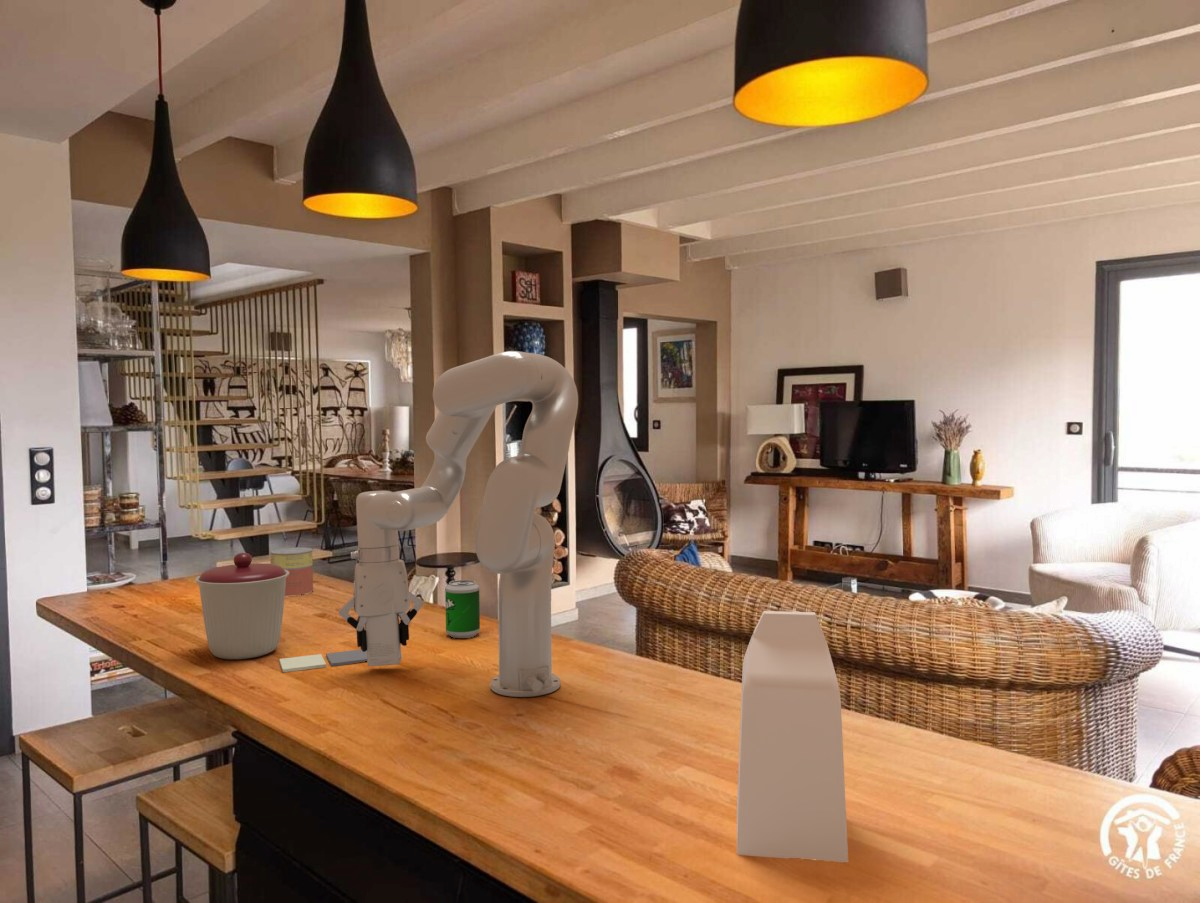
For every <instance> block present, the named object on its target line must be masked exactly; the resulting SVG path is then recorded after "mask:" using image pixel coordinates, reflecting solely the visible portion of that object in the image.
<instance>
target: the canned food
mask: <svg viewBox="0 0 1200 903" xmlns="http://www.w3.org/2000/svg"><path fill="white" fill-rule="evenodd" d="M313 551H314V550H313V548H311V547H304V546H303V547H298V546H297V547H293V546H292V547H282V548H275V549H272V550H270V551H269V553H270V564H273V565H277V566H280V567H282V568H283V569H285V570H287V571H289V576H288V577H286V586H285V596H290V595H300V594H306V593H310V592H312V591H313V590H314V570H313V568H314V567H313V564H314V563H313V560H314V559H313ZM313 592H314V591H313ZM313 592H312V593H313ZM310 594H311V593H310Z"/></svg>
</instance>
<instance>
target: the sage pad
mask: <svg viewBox="0 0 1200 903" xmlns="http://www.w3.org/2000/svg"><path fill="white" fill-rule="evenodd" d="M279 665H280V668H281V671H282V673H290V672H299V671H306V670H307V671H308V670H313V669H322V668H327V663H326V661H325V659H324V657H323V655H322V654H321V653H319V654H318V653H317V654H310V655H302V656H301V655H300V656H294V657H285V658H279Z"/></svg>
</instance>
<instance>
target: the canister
mask: <svg viewBox="0 0 1200 903" xmlns="http://www.w3.org/2000/svg"><path fill="white" fill-rule="evenodd" d="M252 562H253V557H252V555H251V553H248V552H240V553H236V554H235V556H234V557H233V563H234V564H229V565H221V566H217V567H213V568H209V569H207V570H205V571H204V572H202V573H201V574H200V575H198V576H196V577H195V578H194V581H195V583H196V584H198V587H199V588H198V589H199V596H200V601H201V602H200V603H201V609H202V610H201V611H202V617H203V622H204V628H205V629H204V630H205V636H206V641H207V645H208V648H209V650H210V652H211V654H212V655H213V656H215V657H217V658H220V659H223V660H247V659H248V660H249V659H253V658H254V659H255V658H258V657H262V656H265V655H268V654H270V653H272V652H274V650H276V648H277V647H278V645H279V643H280V639H281V635H282V634H281V632H282V625H283V617H284V616H283V615H284V605H285V598H286V597H285V586H286V577H288V576H289V571H287V570H285V569H283V568H282V567H280V566H277V565H273V564H271V563H255V562H254V563H252Z"/></svg>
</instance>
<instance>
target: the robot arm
mask: <svg viewBox="0 0 1200 903" xmlns="http://www.w3.org/2000/svg"><path fill="white" fill-rule="evenodd" d="M432 390H433V391H432V399H433V400H432V401H433V402H434V403H433V404H434V405H435V407H436V408H437V410H438V411H439V412H438V414H437V416H436V418H435V419H434V421H433V423H432V425H431V426H430V428H429V430H428V431H427V433H426V436H425V441H426V442H425V443H426V444H427V446H428V447H429V449H430V450H431V451H432V452H433V454H434V458H433V463H432V466H431V468H430V471H429V473H428V475H427V477H426V478H425V480H424V482H423V484H422V485H421V487H416V488H409V489H403V490H397V491H391V490H370V491H363V492H361V493H359V494H357V496H356V497H355V498H356V499H355V504H356V505H355V506H356V507H355V511H356V526H357V528H356V529H357V531H356V532H357V549H356V550H355V551H351V552H350V558H351V560H353V559H355V560H357V561H358V563H355V568H354V573H353V574H354V575H353V592H352V593H353V596H352V597H351V598H350V599H349V600H348V601H347V602H345V603H344V605H343V606H342V607H341V608H339V610H338V612H337V613H338V614H339V616H340V617H341V618H342V619H344V620H345V621H346V622H347V623H348V625H350V626H351V627H352V628H354V629H355V631H356V644H357V645H356V646H357V647H358V648H360V649H361V650H362V651H363V652H365V651H367V641H366V631H365V623H366V621H367V618H368V617H376V616H384V615H388V614H391V613H392V604H393V603H395V614H398V615H399V619H400V620H399V629H400V644H401V646H403V647H405V646H407V645H408V643H407V641H409V640H410V631H409V629H410V628H409V626H410V624H411V621H412V620H413V619H414V618H415V617H416V616H417V614H418V612H419V611H420V610H421V608H422V607H423V606H424V604H425V603H424V601H423V600H422V599H420V598H419V597H418V596H416V595H415V594H413V593H412V592H411V591H410V589H409V581H408V580H409V578H408V574H407V573H408V572H407V569H406V568H407V567H406V564H405V561H404V560H402V559H400V550H399V547H400V546H399V531H400V532H401V531H402V532H406V531H412V530H415V529H419V528H422V527H426V526H431V525H435V524H437V523H438V522H440V521H442V519H443V518H444V517H445V516H446V514H447V513H448V511H449V510H450V508H451V507H452V505H453V504H454V502H455V500H456V498H457V497H458V495H459V493H460V492H461V489H462V487H463V485H464V481H465V476H466V470H467V458H468V456H469V454H470V453H471V451H472V449H473V447H475V444H476V443H477V440H478V439H479V437H480V436H481V433H482V432H483V430H484V428H486V425H487V424H488V422H489V420H490V418H491V417H492V415H493V414H494V411H495V410H496V408H497V406H499V405H503V404H506V403H510V402H530V403H531V404H532V409H531V412H530V414H529V416H528V418H527V420H526V422H525V424H524V428H523V432H522V438H521V442H520V447H519V450H518V454H517V455H515V456H512V457H508V458H506V459H503V460H502V461H501V462H499V463H498V464H497V465H496V466H495V467H494V469H493V470H492V472H491V473H490V475H489V478H488V480H487V483H486V487H485V491H484V496H483V500H482V504H481V510H480V515H479V519H478V525H477V529H476V534H475V541H474V543H475V552H476V553H475V554H476V556H477V559H478V561H479V563H480V564H481V566H482V567H483V568H484V569H486V570H488V571H489V572H491V573H493V574H498V575H499V577H498V578H499V579H498V588H497V589H498V590H497V591H498V592H497V600H498V602H497V603H498V604H497V605H498V607H497V610H498V611H497V612H498V620H497V621H498V675H496V676H494V677H493V678H492V679H491V680H490V689H491V690H492V692H494V693H495V694H498V695H501V696H506V697H512V698H513V697H514V698H530V697H531V698H532V697H540V696H544V695H548V694H551V693H553V692H555V691H557V690H558V689H559V688H560V687H561V678H560V677H559V676H558V675H556V674H555V673H553V672H552V670H553V669H552V666H553V665H552V659H553V658H552V652H553V650H552V574H553V563H554V557H555V547H556V538H555V533H554V530H553V527H552V525H551V524H550V522H549V521H548V520H547V519H546V518H545V517H544V516H543V515H541V514H539V513H537V512H536V509H540V508H543V507H545V506H546V507H547V506H548V505H551V504H552V503H553V502H554V501H555V500H556V499H557V498H558V497H559V496H558V495H559V494H560V491H561V487H562V483H563V478H564V474H565V468H566V465H567V460H568V455H569V452H570V446H571V440H572V436H573V432H574V427H575V423H576V419H577V414H578V407H579V394H578V393H579V392H578V388H577V385H576V383H575V380H574V378H573V377H572V375H571V374H570V372H569V371H568V370H567V369H566V368H565V366H563V365H562V364H561V363H559V361H557V360H555V359H553V358H551V357H549V356H546V355H543V354H539V353H533V352H527V351H526V352H524V351H520V350H519V351H518V350H508V351H507V350H506V351H501V352H499V353H494V354H491V355H488V356H487V357H486V356H485V357H482V358H481V359H480V358H479V359H477V360H473V361H471V362H467V363H464V364H460V365H458V366H455V367H452V368H449V369H448V370H446V371H444V372H442V374H440V375H439V377H438V378H437V379H436V381H435V383H434V386H433V389H432ZM411 602H412V603H413V605H412V606H411ZM410 607H411V608H410ZM351 609H353V610H354V612H355V613H356V615H357V618H356V619H355V618H354V617H353V616H351V614H349V613H350V611H351Z"/></svg>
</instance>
